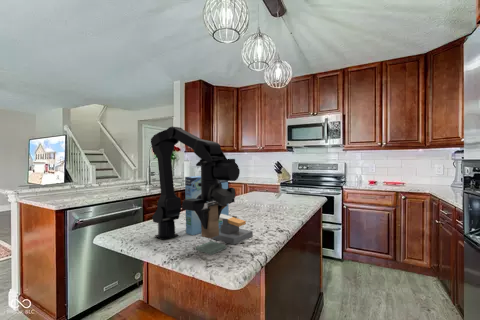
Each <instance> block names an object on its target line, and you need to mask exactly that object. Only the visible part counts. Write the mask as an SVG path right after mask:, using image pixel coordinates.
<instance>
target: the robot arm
mask: <svg viewBox="0 0 480 320" xmlns="http://www.w3.org/2000/svg"><path fill="white" fill-rule="evenodd" d="M179 142H180V143H181V144H183V145H185V146H187V147H189V149H192V150H193V153H194V154H195V155H196V156H197V157H198V158H199V161H198V162H196V163H195V166H196V167H200V176H201V183H199V186H201V195H200V196H199V199H194V198H192V199H184V200H183V201H181V200H182V199H181V197H180V196H177V195H176V193H175V186H174V185H175V184H174V175H173V165H172V164H173V163H172V155H173V153H174V151H175V146H176V145H178V143H179ZM150 144H151V145H150V146H151V149H152V153H154V155H155V157H156V158H157V164H158V165H157V166H158V167H157V168H158V175H159V176H158V177H159V185H160V187H159V188H160V196H159V198H158V200H157V203H156V204H157V205H156V206H157V209H156V210H155V212H154V213H153V215H152V216H151V217H152V221H153V222H152V223H156V224H157V229H158V230H157V232H158V233H157V234H155V235H154V237H155V236H156V237H155V238H157V237H159V238H158V239H160V238H161V239H160V240H163V239H166V240H168V238H169V239H171V238H175V237H178V236H179V234H178V233H176V226H175V225H176V224H175V223H176V221H175V220H179V219H180V215H181V212H182V210H185V211H186V210H191V211H195V212H196V214H197V215H198V217H199V219H200V221H201V223H202V225H203V227H204V229H207V226H208V212H209V211H210V208H208V204H214V205H218V220H219V217H220V214H221V211H222V209H223V208H225V207H226V206H227V204H228V205H231V204H232V203H235V198H236V189H235V187H233V186H232V187H231V186H230V187H228V189H223V188H222V184H221V183H219V180H223V181H228V182H235V181H237V180H238V179H239V177H240V172H241V171H240V170H241V169H240V167H239V165H238V163H236V159H235V158H227V156H226V155H225V154H224V152H223V150H222V148H221V145H220V143H219V142H216V141H212V140H207V139H202V138H200V137H198V136H197V135H194V134H192V133H191V132H188V131H187V130H184V128H182V127H178V126H170V127H168V128H166V129H164V130H161V131H159V132H157V133H155V134H154V135H153V136H152V137H151V138H150ZM201 199H202V200H201ZM181 202H182V203H181Z"/></svg>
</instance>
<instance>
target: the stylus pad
mask: <svg viewBox="0 0 480 320" xmlns="http://www.w3.org/2000/svg"><path fill="white" fill-rule="evenodd" d="M225 249H227V244H223V243H220V242H218V241H214V240H209V241H207V242H205V243H202V244H200V245H197V246H195V251H198V252H200V253H203V254H208V255H210V256H212V255H214V254H216V253H218V252H220V251H223V250H225Z"/></svg>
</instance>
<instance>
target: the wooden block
mask: <svg viewBox="0 0 480 320" xmlns="http://www.w3.org/2000/svg"><path fill="white" fill-rule="evenodd" d="M208 208H210V211H209V212H208V226H207V229H204V227H203V225H202V223H201V231H202V233H201V237H202V238H208V239H211V238H213V237H215V236H218V235H219V223H218V205H214V204H208Z"/></svg>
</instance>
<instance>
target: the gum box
mask: <svg viewBox="0 0 480 320" xmlns="http://www.w3.org/2000/svg"><path fill="white" fill-rule="evenodd" d="M184 181H185V182H184V183H185V184H184V188H185V189H184V191H185V194H184V195H185V199H184V200H186V199H192V198H194V199H199V196H200V195H201V186H199V183H201V175H194V176H193V175H192V176H185V177H184ZM219 183H221V184H222V188H223V189H228V188H229V181H223V180H219ZM201 200H202V199H201ZM229 213H230V212H229V204H227V206H226V207H225V208H223V209H222V211H221V214H225V215H228V216H230V215H229ZM218 223H219V228H221V224H223V221H220V220H218ZM185 233H186V234H187V235H190V236H194V235H195V236H196V235H198V234H202V231H201V221H200V219H199V217H198V215H197V214H196V212H195V211H191V210H185Z"/></svg>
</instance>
